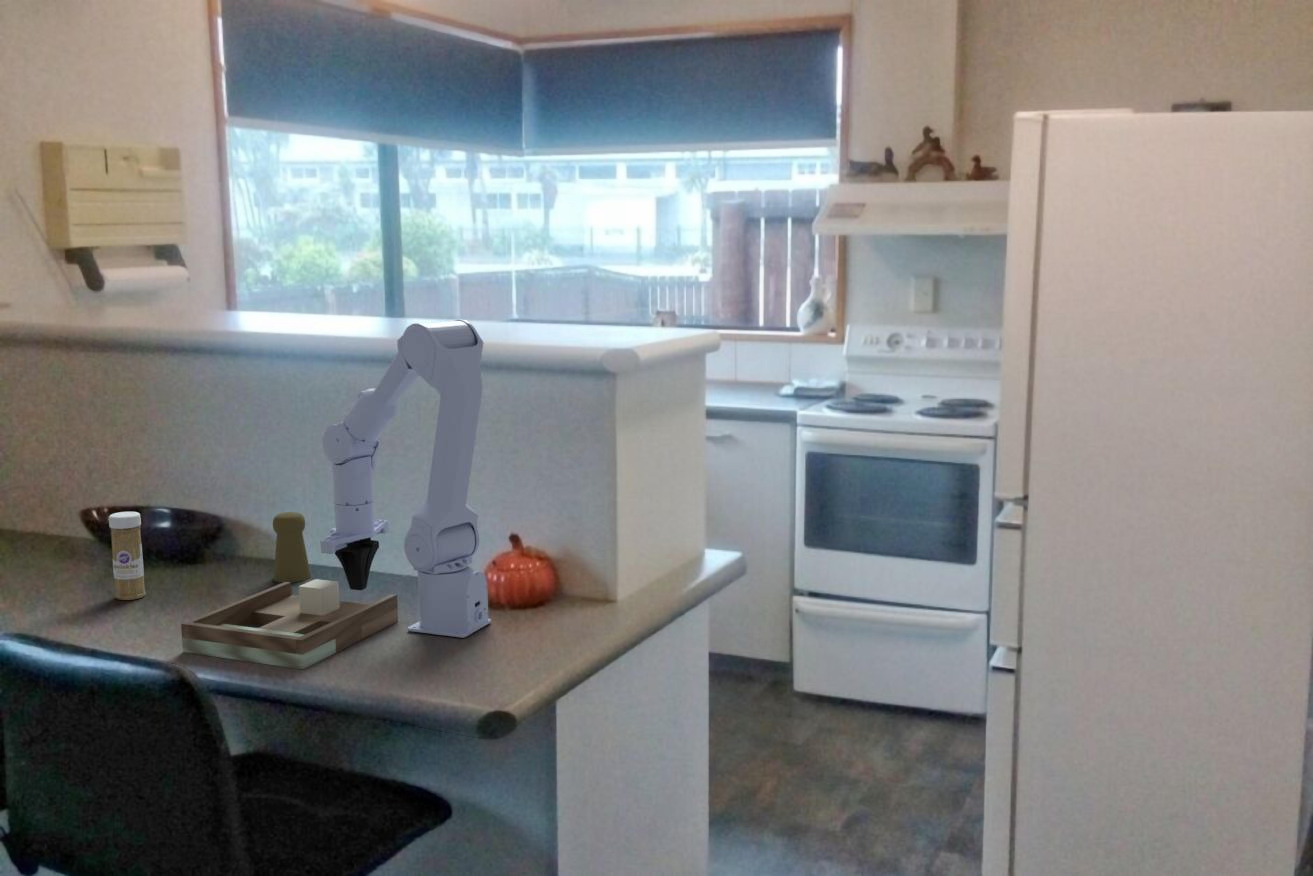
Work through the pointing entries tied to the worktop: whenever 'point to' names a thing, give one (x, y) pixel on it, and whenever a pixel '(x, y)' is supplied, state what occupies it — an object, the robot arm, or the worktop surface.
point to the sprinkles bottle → (127, 555)
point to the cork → (290, 548)
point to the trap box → (283, 629)
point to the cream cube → (319, 597)
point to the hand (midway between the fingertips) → (358, 588)
